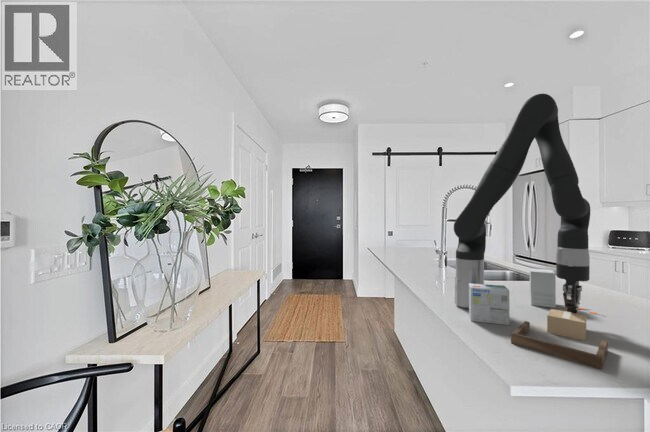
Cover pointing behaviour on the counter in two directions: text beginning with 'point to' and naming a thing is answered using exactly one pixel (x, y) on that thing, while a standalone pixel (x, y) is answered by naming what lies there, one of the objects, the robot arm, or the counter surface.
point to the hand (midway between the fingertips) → (572, 321)
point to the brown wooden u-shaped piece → (559, 348)
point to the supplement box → (543, 288)
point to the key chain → (583, 309)
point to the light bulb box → (489, 303)
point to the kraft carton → (566, 324)
